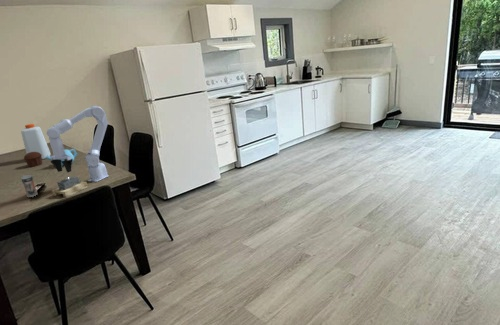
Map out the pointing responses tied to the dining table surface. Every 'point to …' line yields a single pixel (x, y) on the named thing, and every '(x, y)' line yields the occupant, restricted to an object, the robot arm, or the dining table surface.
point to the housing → (68, 183)
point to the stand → (70, 189)
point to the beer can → (29, 186)
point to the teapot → (67, 152)
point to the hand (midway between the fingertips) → (64, 171)
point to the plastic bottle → (35, 140)
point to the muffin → (33, 159)
